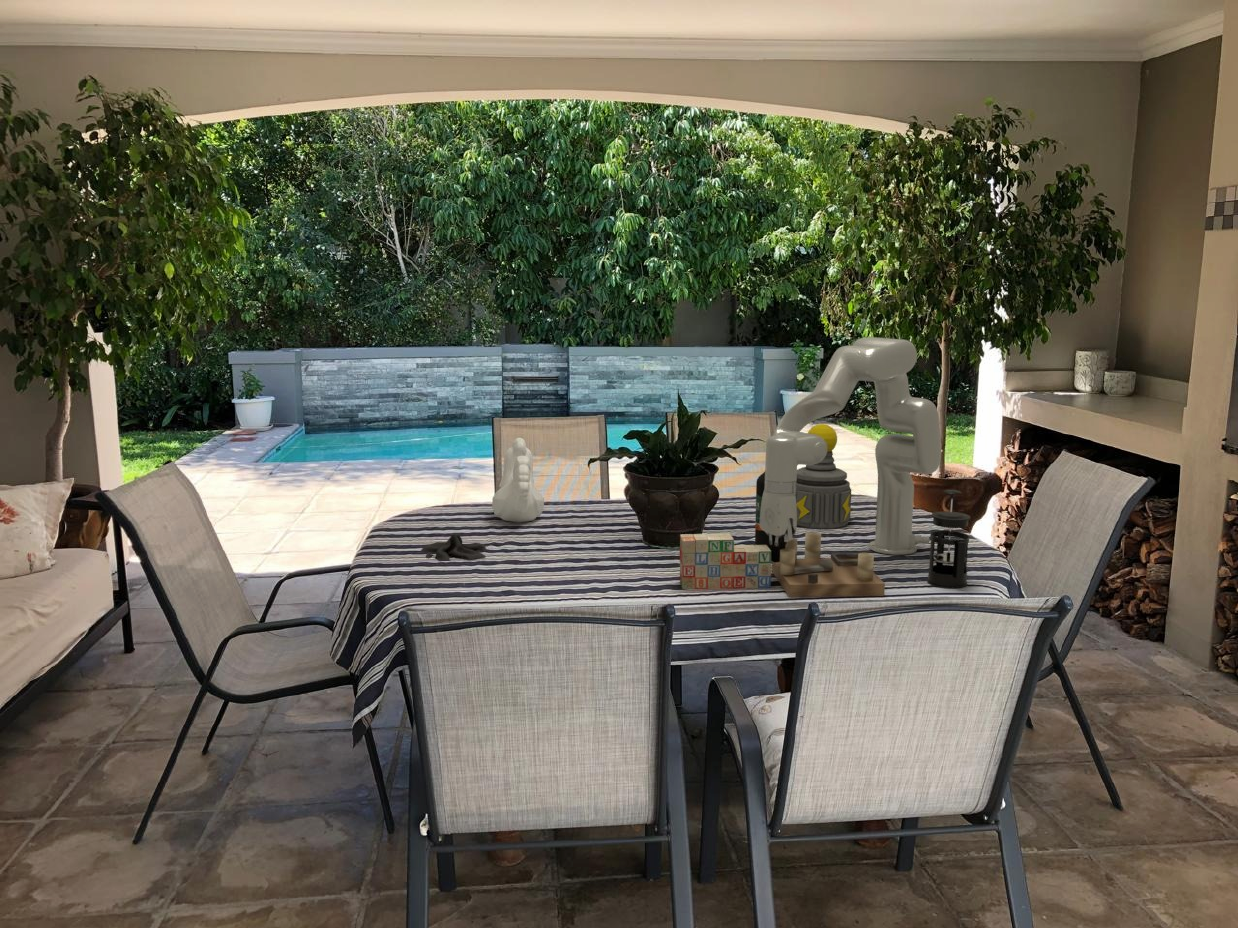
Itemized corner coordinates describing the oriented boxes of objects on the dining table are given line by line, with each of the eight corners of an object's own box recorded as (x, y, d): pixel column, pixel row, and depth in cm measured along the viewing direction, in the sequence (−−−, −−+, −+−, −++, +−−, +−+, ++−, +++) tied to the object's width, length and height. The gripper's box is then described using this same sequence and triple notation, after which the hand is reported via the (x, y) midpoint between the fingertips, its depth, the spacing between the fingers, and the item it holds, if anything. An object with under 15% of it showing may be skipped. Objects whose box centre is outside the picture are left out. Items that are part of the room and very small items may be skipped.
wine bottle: (782, 555, 283) (785, 444, 277) (753, 553, 284) (756, 443, 279) (783, 547, 290) (786, 439, 284) (755, 546, 291) (758, 438, 286)
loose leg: (818, 561, 277) (819, 531, 275) (821, 565, 273) (822, 535, 271) (803, 561, 276) (803, 531, 275) (806, 565, 273) (807, 535, 271)
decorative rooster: (496, 512, 332) (494, 434, 328) (546, 512, 332) (545, 434, 327) (484, 531, 307) (482, 447, 303) (538, 532, 307) (537, 447, 303)
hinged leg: (828, 566, 259) (829, 544, 258) (835, 570, 256) (836, 547, 255) (776, 572, 255) (777, 549, 254) (783, 576, 252) (784, 552, 251)
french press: (919, 577, 262) (923, 486, 258) (954, 575, 264) (959, 485, 259) (941, 591, 251) (946, 496, 246) (977, 589, 252) (984, 495, 248)
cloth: (421, 546, 294) (420, 524, 292) (488, 544, 295) (488, 523, 294) (414, 568, 272) (413, 545, 271) (487, 566, 274) (486, 543, 273)
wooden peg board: (859, 569, 269) (860, 534, 268) (884, 595, 247) (886, 558, 246) (771, 570, 268) (772, 535, 267) (789, 597, 246) (790, 559, 245)
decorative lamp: (862, 521, 320) (866, 423, 315) (830, 533, 306) (834, 430, 301) (808, 512, 332) (811, 417, 327) (775, 523, 319) (777, 424, 313)
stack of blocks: (766, 581, 260) (767, 532, 257) (770, 588, 253) (772, 538, 251) (679, 582, 259) (679, 533, 256) (681, 589, 252) (682, 539, 250)
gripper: (750, 482, 259) (748, 555, 263) (783, 494, 246) (780, 570, 249) (777, 480, 262) (774, 552, 266) (811, 491, 249) (807, 567, 252)
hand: (777, 561), depth 257 cm, fingers closed
